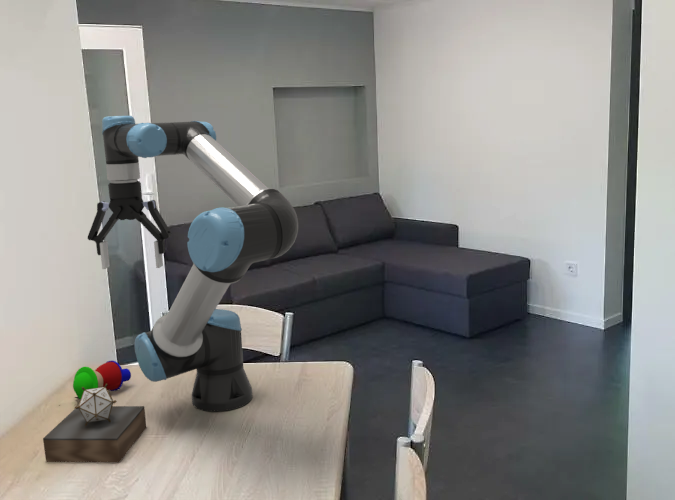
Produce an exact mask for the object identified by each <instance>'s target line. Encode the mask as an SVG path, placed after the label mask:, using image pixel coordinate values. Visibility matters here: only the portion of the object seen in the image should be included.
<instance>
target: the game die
mask: <svg viewBox="0 0 675 500" xmlns="http://www.w3.org/2000/svg"><path fill="white" fill-rule="evenodd" d="M106 387H107V384H105V387H100V388H93V389H86V390H85V388H84V387H82V390H84V392H83V394H82V397H81V400H79V404H78V406H75V407H74V409H78V408H79V410H80V412H81V413H82V415H83V417H84V419H85V420H86V423H85V426H86V425H87V424H88V422H95V421H101V420H108V421H109V422H111V420H110V419H109V416H110V413H111V409H112V406H114V404H115V403H117V400H116V399H115V400H113V397H112V396H111V394H110V392H109V390H107V389H106Z"/></svg>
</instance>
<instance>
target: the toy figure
mask: <svg viewBox="0 0 675 500" xmlns="http://www.w3.org/2000/svg"><path fill="white" fill-rule="evenodd" d="M131 377H132V373H131V371H130V369H129V368H123V367H122V366H121V365H120V363H118V362H117V361H116V360H108V361H106V362H104V363H102V364H101V365H99V366H98V367H96V369H93V368H91V367H89V366H82V367H80V368H78V370H77V371H76V373H75V375H74V378H73V383H72V389H73V391H74V393H75V394H76V396H74V397H73V398H74V399H77V400H79V401H80V400H81V397H82V394H83V392H84V390H82V387H84V388H85V390H86V389H93V388H100V387H105V384H107V387H106V389H107V390H108V391H110V392H117V391H119V390H120V389H121V388H122V386H123V383H124V382H125V383H126V382H129V381H130V380H131Z"/></svg>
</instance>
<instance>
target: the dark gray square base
mask: <svg viewBox="0 0 675 500" xmlns="http://www.w3.org/2000/svg"><path fill="white" fill-rule="evenodd" d="M109 419H110V420H111V422H109V421H108V420H101V421H95V422H88V424H87V425H86V426H85V423H86V420H85V419H84V417H83V415H82V413H81V412H80V410H79V408H78V409H75V408H74V409H73V410H72V411H71V412H70V413H69V414H68V415H66V417H64V418H63V419H62V420H61V421H59V423H58V424H57V425H56V426H55V427H54V428H53V429H51V431H49V432H48V433H47V434H46V435H45V436H44V437H43V438H42V441H43V448H44V449H43V450H44V457H45V463H121V461H122V460H123V459H124V458H125V456H126V455H127V454H128V452H129V451H130V450H131V448H133V446H134V445H135V443H136V442H137V441H138V440H139V438H140V437H141V436H142V434H143V433H144V432H145V430H146V429H147V418H146V409H145V405H143V406H142V405H135V406H134V405H128V406H127V405H121V406H120V405H116V406H115V405H113V406H112V409H111V413H110V416H109Z"/></svg>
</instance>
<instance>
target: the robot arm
mask: <svg viewBox="0 0 675 500" xmlns="http://www.w3.org/2000/svg"><path fill="white" fill-rule="evenodd" d="M101 122H102V124H101V126H102V131H101V133H102V134H101V135H102V137H103V138H102V141H103V148H104V149H103V150H104V156H105V166H106V176H107V177H106V178H107V181H109V183H108V196H109V202H106V201H104V200H102V201H100V202H97V204H96V214H95V216H94V219H93V222H92V224H91V227H90V230H89V232H88V234H87V240H88V241H93V242H94V243H95V245H96V254H97V255H98V256H100V259H101V269H102V270H107V269H109V268H110V267H111V265H110V257H109V255H110V254H109V247H108V241H107V240H105V239H106V237H107V236H108V234H109V233H110V231H112V228H113V227H114V226H115V224H116V223H117V222H118V221H119V220H120V221H125V220H129V221H134V220H136V221H138V222H140V224H141V225H142V226H143V228H145V229H146V231H148V232H149V234H151V235H152V237H154V239H155V241H154V242H153V244H154V245H153V246H154V257H155V258H154V259H155V266H156V267H155V268H156V269H160V268H161V267H163V266H164V262H163V254H164V253H166V242H165V240H166V239H168V238H170V237H172V236H173V234H172V231H171V230H170V228H169V227H168V225H167V222H166V220H164V218H163V216H162V215H161V213H160V211H159V209H158V207H157V202H156V200H155V199H151V200H148V201H144V200H143V193H142V182H140V181H139V180H140V178H141V170H140V163H139V161H140V159H139V158H143V159H147V158H155V157H160V156H175V155H176V156H177V155H178V156H179V155H184V156H185V157H186V158H187V159H188V160H189V161H190V162H192V164H193V165H194V166H195V167H196V168H197V169H198V170H199V171H200V172H202V174H204V176H206V177H207V179H208V180H210V181H211V182H212V183H213V184H214V185H215V186H216V187H217V188H218V189H219V191H221V192H222V193H223V194H224V195H225V196H226V197H227V198H228V199H229V200H230V201H231V202H232V203H233V204H234V205H235V206H230V207H217V208H213V209H211V210H207V211H206V210H205V211H203V212H201V213H199V214H198V215H197V216H196V217H195V218H194V219H193V220H192V222H191V223H190V226H189V228H188V231H187V238H188V241H187V243H186V244H187V250H188V254H189V257H190V259H191V261H192V266H191V268H190V270H189V272H188V274H187V276H186V278H185V280H184V281H183V283H182V286H181V287H180V288H179V292H178V293H177V295H176V297H175V299H174V301H173V302H172V305H171V306H170V309H169V310H168V312H167V314H164V315H163V316H160V317H159V318H158V319H157V320H156V321H155V323H154V324H153V326H152V328H151V330H149V331H148V332H141V333H140V334H137V336H136V337H135V339H134V353H135V357H136V360H137V364H138V365H139V366H138V367H139V369H140V371H141V372H142V374H143V375H144V377H146V379H148V380H149V381H150V382H153V383H155V382H159V381H160V382H161V381H166V380H168V379H170V378H173V377H176V376H179V375H183V374H186V373H188V372H191V371H194V370H195V371H196V374H195V379H194V383H193V387H192V389H191V390H192V391H191V404H192V406H193V407H194V408H195V409H198V410H201V411H204V412H205V411H206V412H224V411H231V410H235V409H238V408H242V407H243V406H245V405H247V404H248V403H250V402H251V400H252V398H253V389H252V385H251V383H250V380H249V378H248V375H247V372H246V371H245V368H244V354H243V341H242V339H243V338H242V330H243V329H242V324H241V320H240V316H239V314H238V313H236V312H235V311H232V310H229V309H221V308H218V305H219V304H220V302H221V300H222V299H223V297H224V295H225V294H226V293H227V290H228V288H229V287H230V285H231V284H235V283H237V282H239V281H240V280H242V278H244V277H245V274H246V273H247V271H248V269H250V266H251V265H252V264H254V263H259V262H263V261H267V260H268V261H269V260H273V259H277V258H279V257H282V256H283V255H285V254H286V253H287V252H288V251H289V250H291V248H292V246H293V245H294V243H296V242H295V241H296V239H297V238H298V237H297V236H298V233H299V220H298V216H297V213H296V210H295V208H294V206H293V205H292V203H291V202H290V201H289V200H288V198H286V197H285V195H284V194H282V193H281V192H280V191H279V190H277V189H276V188H273V187H268V186H266V184H264V183H263V182H262V181H261V180H260V179H259V178H258V177H257V176H255V175H254V174H253V173H252V172H251V171H250V170H249V169H248V168H247V167H246V166H244V165H243V164H242V163H241V162H240V161H239V160H238V159H237V158H235V157H234V156H233V155H232V154H231V153H230V152H229V151H228V150H226V149H225V148H224V147H223V145H221V144H220V143H219V142H218V141H217V134H216V131H215V130H214V126H213V125H212V124H211V123H209V122H207V121H199V120H191V121H177V122H175V121H174V122H140V123H136V120H135V118H134V116H132V115H113V116H111V115H110V116H108V115H107V116H104V117H103V118H102V121H101ZM144 207H145V209H146V210H147V211H148V212H149V214H150V216H151V218H152V219H153V221H154V223H155V224H156V225H155V224H154V223H153V222H152V221H151V220H150V219H149V218H148V216H147V214H145V213H144V212H143V210H144ZM108 209H109V210H110V211H111V212H112V214H111V215H110V217H109V218H108V220H107V222H106V223H105V225H104V226H103V227H102V229H101V226H102V223H103V221H104V218H105V215H106V212H107V211H109V210H108ZM157 227H158V228H157ZM100 229H101V230H100ZM99 231H100V232H99Z"/></svg>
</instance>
